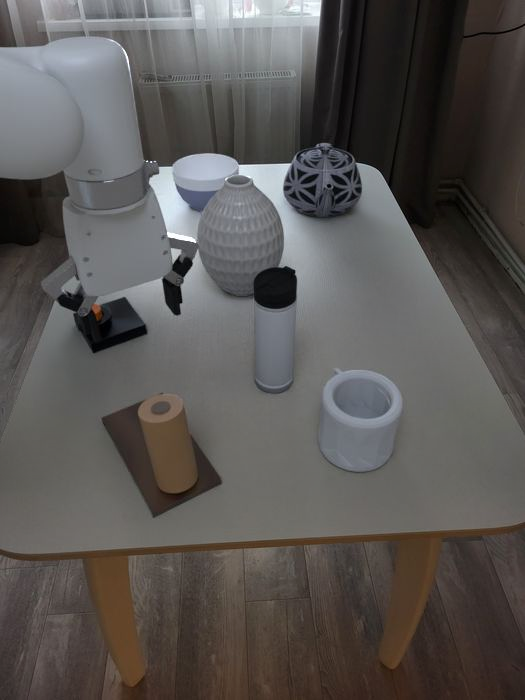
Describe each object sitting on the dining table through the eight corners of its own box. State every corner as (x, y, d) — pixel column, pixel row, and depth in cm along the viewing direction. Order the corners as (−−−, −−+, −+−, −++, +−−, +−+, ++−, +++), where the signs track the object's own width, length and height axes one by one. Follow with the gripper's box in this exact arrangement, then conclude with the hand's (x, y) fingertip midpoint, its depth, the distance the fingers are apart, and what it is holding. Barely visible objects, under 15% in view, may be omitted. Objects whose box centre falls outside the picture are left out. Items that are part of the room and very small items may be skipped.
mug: (407, 460, 78) (419, 412, 72) (338, 483, 75) (344, 435, 69) (361, 396, 88) (368, 348, 81) (298, 414, 85) (301, 366, 78)
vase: (287, 267, 116) (290, 163, 101) (277, 314, 104) (279, 204, 89) (211, 261, 118) (203, 159, 103) (192, 306, 106) (181, 197, 91)
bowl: (187, 187, 146) (183, 151, 139) (246, 192, 143) (245, 155, 137) (167, 215, 134) (162, 177, 128) (231, 221, 131) (229, 182, 125)
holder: (153, 518, 71) (152, 513, 71) (102, 422, 84) (101, 417, 83) (221, 483, 75) (221, 479, 75) (163, 397, 88) (162, 392, 87)
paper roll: (150, 474, 75) (166, 500, 71) (131, 404, 69) (147, 428, 65) (187, 456, 78) (205, 481, 73) (172, 387, 71) (190, 409, 67)
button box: (89, 354, 95) (84, 336, 93) (71, 324, 102) (66, 306, 99) (147, 334, 100) (144, 316, 97) (126, 305, 106) (123, 288, 104)
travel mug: (302, 378, 91) (308, 275, 78) (275, 399, 87) (277, 295, 74) (273, 361, 94) (275, 259, 81) (246, 381, 90) (243, 277, 77)
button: (87, 325, 96) (84, 317, 95) (81, 315, 98) (79, 307, 97) (105, 319, 97) (103, 311, 96) (98, 309, 99) (96, 302, 98)
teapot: (283, 238, 125) (285, 174, 116) (281, 180, 149) (283, 123, 139) (368, 238, 125) (377, 174, 115) (353, 180, 148) (359, 123, 139)
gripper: (174, 152, 60) (189, 285, 71) (7, 189, 53) (53, 328, 64) (204, 178, 55) (215, 316, 66) (25, 221, 48) (71, 366, 60)
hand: (135, 322), depth 65 cm, fingers open, 9 cm apart
